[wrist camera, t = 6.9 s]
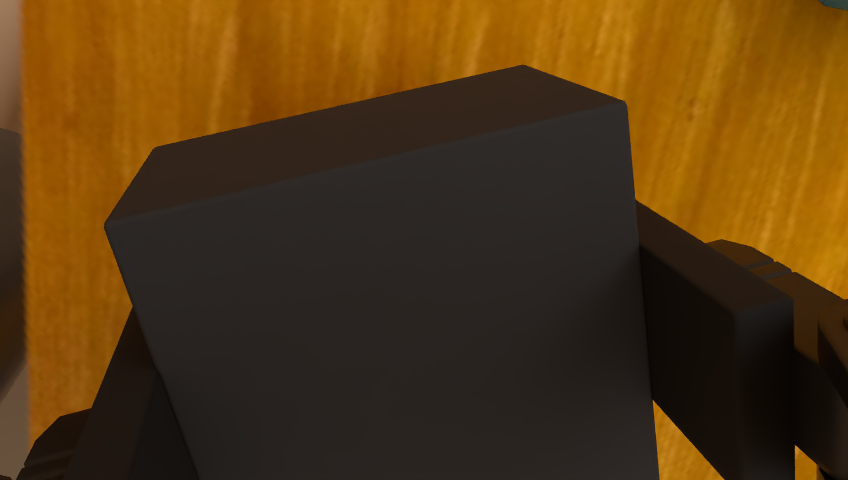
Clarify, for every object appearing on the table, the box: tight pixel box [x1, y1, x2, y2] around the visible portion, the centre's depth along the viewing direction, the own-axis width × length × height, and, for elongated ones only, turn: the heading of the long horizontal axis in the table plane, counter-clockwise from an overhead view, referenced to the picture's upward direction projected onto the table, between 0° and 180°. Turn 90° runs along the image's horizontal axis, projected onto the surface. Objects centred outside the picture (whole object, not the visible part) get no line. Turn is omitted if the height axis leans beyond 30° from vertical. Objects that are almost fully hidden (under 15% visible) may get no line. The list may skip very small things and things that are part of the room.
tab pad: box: [104, 65, 659, 480], centre depth 13 cm, size 7×10×4 cm
